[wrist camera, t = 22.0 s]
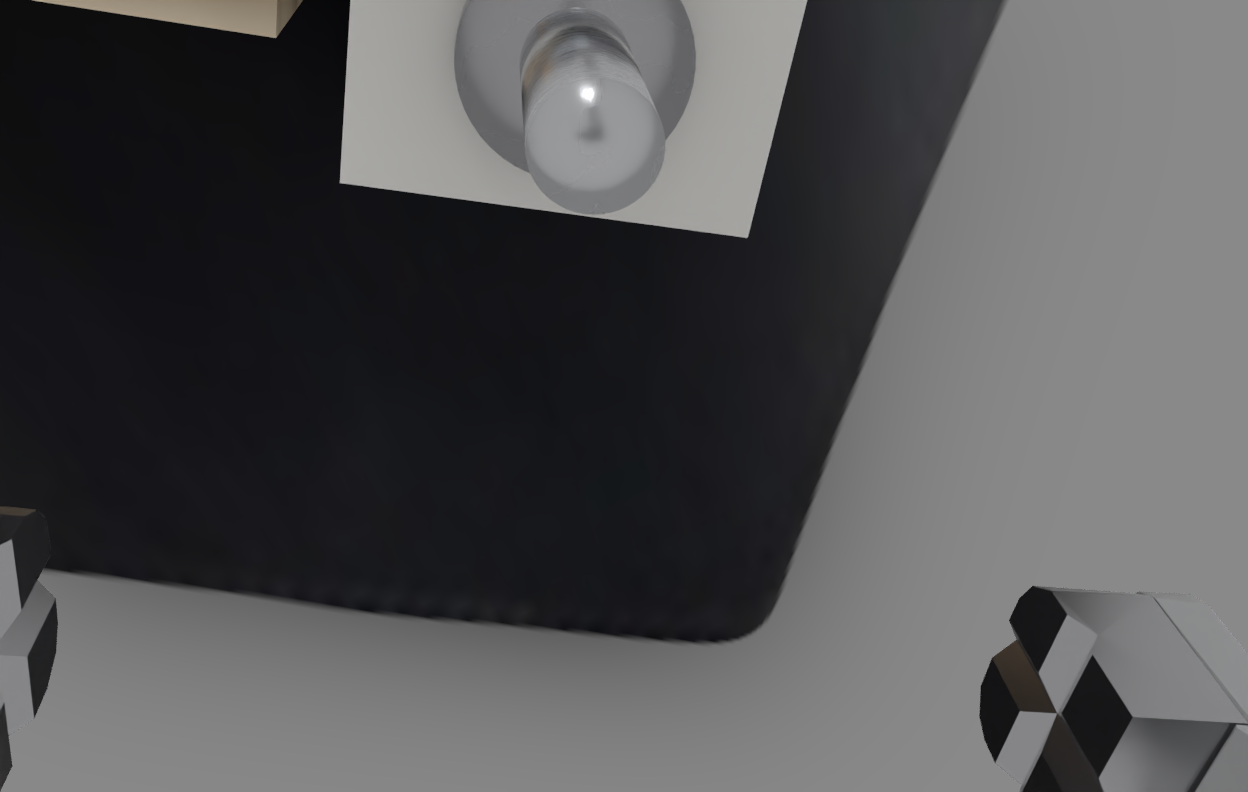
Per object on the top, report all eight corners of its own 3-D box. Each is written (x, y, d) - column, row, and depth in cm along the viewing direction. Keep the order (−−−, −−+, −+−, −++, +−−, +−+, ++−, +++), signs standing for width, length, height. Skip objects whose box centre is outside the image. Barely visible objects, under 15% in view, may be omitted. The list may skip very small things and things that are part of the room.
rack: (384, -186, 33) (360, -168, 27) (771, -112, 36) (827, -80, 30) (364, 110, 38) (339, 182, 32) (709, 161, 40) (747, 237, 34)
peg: (473, -118, 34) (461, -34, 22) (679, -80, 35) (775, 20, 23) (451, 92, 37) (429, 266, 25) (641, 120, 38) (708, 301, 26)
